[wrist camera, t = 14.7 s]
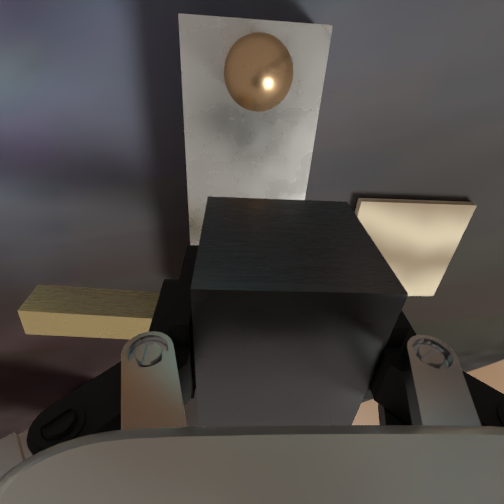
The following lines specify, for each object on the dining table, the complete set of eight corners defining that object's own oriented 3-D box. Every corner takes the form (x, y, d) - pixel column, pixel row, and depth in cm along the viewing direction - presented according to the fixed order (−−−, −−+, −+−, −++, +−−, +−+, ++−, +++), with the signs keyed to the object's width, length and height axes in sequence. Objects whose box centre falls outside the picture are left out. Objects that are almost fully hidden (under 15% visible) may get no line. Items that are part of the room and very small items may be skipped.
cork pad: (358, 197, 30) (361, 201, 29) (471, 201, 30) (476, 205, 30) (334, 290, 36) (336, 295, 35) (429, 291, 36) (433, 296, 36)
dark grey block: (207, 196, 11) (190, 289, 7) (347, 201, 12) (408, 293, 7) (209, 318, 15) (198, 430, 10) (318, 320, 15) (349, 429, 11)
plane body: (186, 17, 22) (161, 4, 14) (317, 27, 22) (362, 20, 15) (197, 292, 35) (188, 363, 27) (280, 293, 35) (293, 362, 28)
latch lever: (45, 308, 23) (26, 336, 20) (37, 282, 21) (16, 308, 19) (259, 321, 24) (261, 347, 22) (264, 297, 23) (267, 323, 21)
